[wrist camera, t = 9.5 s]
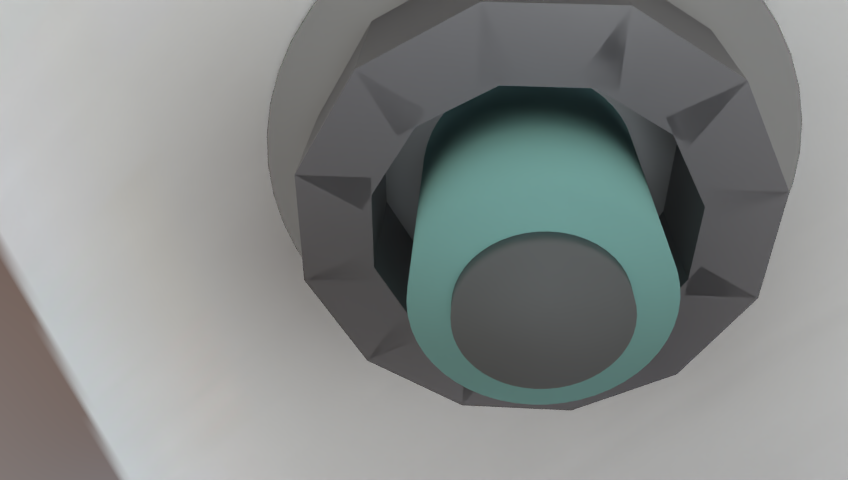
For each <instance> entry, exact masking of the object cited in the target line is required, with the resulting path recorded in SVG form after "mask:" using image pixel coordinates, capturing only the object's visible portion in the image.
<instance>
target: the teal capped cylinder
mask: <svg viewBox="0 0 848 480" xmlns="http://www.w3.org/2000/svg"><path fill="white" fill-rule="evenodd" d="M406 302H407V313H408V318H409V322H410V326H411V329H412V332H413V334H414V336H415V339H416V341H417V343H418V344H419V346H420V347H421V349H422V351H423V352H424V354H425V355H426V356H427V357H428V358H429V360H430V361H431V362H432V363H433V364H434V365H435V366H436V367H437V368H438V369H439V370H440V371H441V372H443V373H444V374H445V375H446V376H448V377H449V378H451V379H452V380H453V381H455V382H456V383H458V384H460V385H462V386H464V387H466V388H467V389H469V390H472V391H474V392H476V393H479V394H481V395H484V396H487V397H490V398H494V399H497V400H501V401H507V402H512V403H520V404H530V405H547V404H558V403H566V402H571V401H577V400H581V399H584V398H588V397H591V396H595V395H597V394H600V393H602V392H605V391H607V390H610V389H612V388H614V387H615V386H617V385H619V384H621V383H623V382H625V381H626V380H628V379H629V378H631V377H632V376H634V375H635V374H637V373H638V372H639V371H640V370H641V369H643V368H644V367H645V366H646V365H647V364H648V363H649V362H650V361H651V360H652V359H653V358H654V357H655V356H656V355H657V354H658V352H659V351H660V350H661V348H662V347H663V345H664V344H665V342H666V341H667V340H668V338H669V336H670V334H671V332H672V329H673V327H674V325H675V322H676V319H677V315H678V312H679V305H680V282H679V277H678V272H677V268H676V265H675V262H674V259H673V257H672V254H671V251H670V248H669V245H668V242H667V239H666V236H665V234H664V231H663V228H662V225H661V222H660V219H659V216H658V213H657V211H656V208H655V205H654V202H653V199H652V196H651V193H650V191H649V188H648V185H647V182H646V179H645V176H644V173H643V170H642V168H641V165H640V162H639V159H638V156H637V153H636V150H635V148H634V145H633V142H632V139H631V136H630V134H629V131H628V128H627V126H626V124H625V123H624V121H623V119H622V117H621V116H620V114H619V113H618V112H617V111H616V109H615V108H614V107H613V105H611V104H610V103H609V102H608V101H607V100H606V99H605V98H604V97H603V96H602V95H600V94H599V93H597V92H596V91H595V90H593V89H592V88H567V87H532V86H497V87H495V88H493V89H491V90H489V91H487V92H485V93H483V94H481V95H479V96H477V97H475V98H473V99H471V100H469V101H467V102H465V103H463V104H461V105H459V106H457V107H455V108H453V109H451V110H449V111H447V112H445V113H444V114H443V115H442V117H441V118H440V119H439V121H438V122H437V124H436V126H435V127H434V129H433V131H432V133H431V135H430V138H429V141H428V143H427V147H426V151H425V155H424V163H423V170H422V178H421V186H420V194H419V202H418V209H417V217H416V225H415V233H414V241H413V248H412V256H411V264H410V272H409V280H408V287H407V301H406Z"/></svg>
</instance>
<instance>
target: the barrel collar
mask: <svg viewBox="0 0 848 480" xmlns="http://www.w3.org/2000/svg"><path fill="white" fill-rule="evenodd" d="M497 86H532V87H567V88H592V89H593V90H595V91H596V92H597V93H599V94H600V95H602V96H603V97H604V98H605V99H606V100H607V101H608V102H609V103H610V104H611V105H613V107H614V108H615V109H616V111H617V112H618V113H619V114H620V116H621V117H622V119H623V121H624V123H625V124H626V126H627V128H628V131H629V134H630V136H631V139H632V142H633V145H634V148H635V150H636V153H637V156H638V159H639V162H640V165H641V168H642V170H643V173H644V176H645V179H646V182H647V185H648V188H649V191H650V193H651V196H652V199H653V202H654V205H655V208H656V211H657V213H658V216H659V219H660V222H661V225H662V228H663V231H664V234H665V236H666V239H667V242H668V245H669V248H670V251H671V254H672V257H673V259H674V262H675V265H676V268H677V272H678V277H679V282H680V305H679V312H678V315H677V319H676V322H675V325H674V327H673V329H672V332H671V334H670V336H669V338H668V340H667V341H666V342H665V344H664V345H663V347H662V348H661V350H660V351H659V352H658V354H657V355H656V356H655V357H654V358H653V359H652V360H651V361H650V362H649V363H648V364H647V365H646V366H645V367H644V368H643V369H641V370H640V371H639V372H638V373H637V374H635V375H634V376H632V377H631V378H629V379H628V380H626V381H625V382H623V383H621V384H619V385H617V386H615V387H614V388H612V389H610V390H607V391H605V392H602V393H600V394H597V395H595V396H591V397H588V398H584V399H581V400H577V401H571V402H566V403H558V404H547V405H530V404H520V403H512V402H507V401H501V400H497V399H494V398H490V397H487V396H484V395H481V394H479V393H476V392H474V391H472V390H469V389H467V388H466V387H464V386H462V385H460V384H458V383H456V382H455V381H453V380H452V379H451V378H449V377H448V376H446V375H445V374H444V373H443V372H441V371H440V370H439V369H438V368H437V367H436V366H435V365H434V364H433V363H432V362H431V361H430V360H429V358H428V357H427V356H426V355H425V354H424V352H423V351H422V349H421V347H420V346H419V344H418V343H417V341H416V339H415V336H414V334H413V332H412V329H411V326H410V322H409V318H408V313H407V302H406V301H407V287H408V280H409V272H410V264H411V256H412V248H413V241H414V233H415V225H416V217H417V209H418V202H419V194H420V186H421V178H422V170H423V163H424V155H425V151H426V147H427V143H428V141H429V138H430V135H431V133H432V131H433V129H434V127H435V126H436V124H437V122H438V121H439V119H440V118H441V117H442V115H443V114H444V113H445V112H447V111H449V110H451V109H453V108H455V107H457V106H459V105H461V104H463V103H465V102H467V101H469V100H471V99H473V98H475V97H477V96H479V95H481V94H483V93H485V92H487V91H489V90H491V89H493V88H495V87H497ZM801 127H802V114H801V103H800V91H799V84H798V80H797V76H796V72H795V68H794V64H793V60H792V56H791V53H790V51H789V49H788V46H787V44H786V42H785V39H784V37H783V35H782V32H781V30H780V28H779V25H778V23H777V21H776V20H775V18H774V17H773V15H772V14H771V12H770V11H769V9H768V7H767V6H766V4H765V3H764V1H763V0H317V1H316V3H315V4H314V5H313V6H312V8H311V10H310V11H309V13H308V15H307V16H306V18H305V19H304V21H303V23H302V24H301V26H300V28H299V29H298V31H297V33H296V34H295V36H294V38H293V39H292V41H291V44H290V46H289V48H288V51H287V53H286V55H285V58H284V60H283V63H282V65H281V67H280V70H279V72H278V76H277V80H276V84H275V88H274V91H273V95H272V99H271V103H270V112H269V121H268V131H267V145H268V166H269V172H270V177H271V182H272V188H273V193H274V197H275V200H276V202H277V205H278V208H279V211H280V214H281V217H282V220H283V223H284V225H285V227H286V229H287V231H288V233H289V235H290V237H291V239H292V241H293V243H294V245H295V247H296V249H297V250H298V252H299V253H300V255H301V256H302V260H303V271H304V280H305V281H306V283H307V284H308V285H309V286H310V288H311V289H312V290H313V292H314V293H315V294H316V295H317V297H318V298H319V299H320V301H321V302H322V303H323V304H324V306H325V307H326V308H327V309H328V311H329V312H330V313H331V315H332V316H333V317H334V318H335V320H336V321H337V322H338V324H339V325H340V326H341V327H342V329H343V330H344V331H345V333H346V334H347V335H348V336H349V338H350V339H351V340H352V341H353V343H354V344H355V345H356V347H357V348H358V349H359V350H360V352H361V353H362V354H363V356H364V357H365V358H366V359H367V360H368V361H370V362H372V363H374V364H376V365H378V366H380V367H383V368H385V369H387V370H389V371H391V372H393V373H395V374H397V375H399V376H402V377H404V378H406V379H408V380H410V381H412V382H414V383H416V384H419V385H421V386H423V387H425V388H427V389H429V390H431V391H433V392H435V393H438V394H440V395H442V396H444V397H446V398H448V399H450V400H452V401H455V402H457V403H459V404H461V405H470V406H491V407H512V408H533V409H554V410H574V409H576V408H579V407H582V406H585V405H588V404H591V403H594V402H597V401H600V400H603V399H606V398H609V397H611V396H614V395H617V394H620V393H623V392H626V391H629V390H632V389H635V388H638V387H641V386H644V385H646V384H649V383H652V382H655V381H658V380H661V379H664V378H667V377H670V376H673V375H676V374H677V373H678V372H679V371H681V370H682V369H683V368H684V367H685V366H686V365H687V364H688V363H689V362H690V361H691V360H692V359H693V358H694V357H695V356H697V355H698V354H699V353H700V352H701V351H702V350H703V349H704V348H705V347H706V346H707V345H708V344H709V343H710V342H712V341H713V340H714V339H715V338H716V337H717V336H718V335H719V334H720V333H721V332H722V331H723V330H724V329H725V328H726V327H728V326H729V325H730V324H731V323H732V322H733V321H734V320H735V319H736V318H737V317H738V316H739V315H740V314H741V313H743V312H744V311H745V310H746V309H747V308H748V307H749V306H750V305H751V304H752V303H753V302H754V301H755V300H756V299H757V298H758V296H759V292H760V289H761V286H762V282H763V279H764V276H765V272H766V269H767V265H768V262H769V259H770V255H771V252H772V249H773V245H774V242H775V239H776V235H777V232H778V228H779V225H780V222H781V218H782V215H783V212H784V208H785V205H786V201H787V198H788V195H789V192H790V189H791V187H792V184H793V180H794V176H795V171H796V167H797V162H798V158H799V153H800V141H801Z"/></svg>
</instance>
